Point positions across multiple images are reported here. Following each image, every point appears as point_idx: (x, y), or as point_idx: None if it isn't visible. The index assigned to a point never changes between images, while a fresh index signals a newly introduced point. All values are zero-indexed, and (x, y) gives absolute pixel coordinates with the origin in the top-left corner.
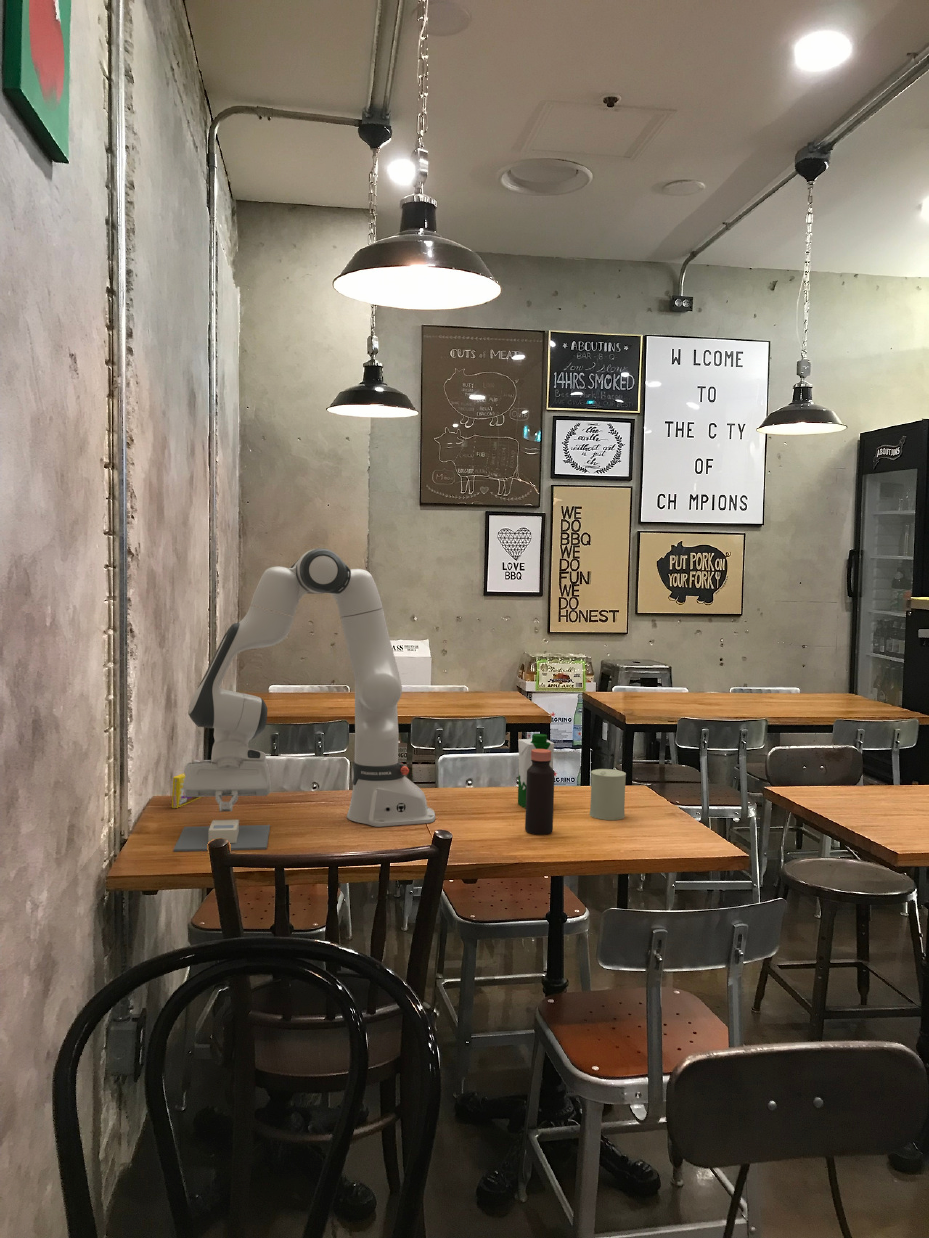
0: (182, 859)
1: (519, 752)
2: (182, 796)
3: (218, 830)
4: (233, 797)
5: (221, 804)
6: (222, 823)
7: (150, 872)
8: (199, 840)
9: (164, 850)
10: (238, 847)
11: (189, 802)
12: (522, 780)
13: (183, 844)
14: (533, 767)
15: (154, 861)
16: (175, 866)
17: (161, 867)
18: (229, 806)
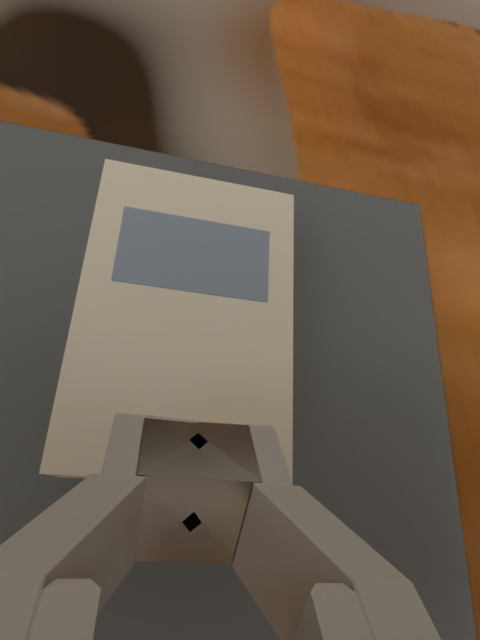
0: (353, 110)
1: None
2: None
3: (229, 185)
4: (68, 522)
5: (254, 451)
6: (203, 354)
7: (427, 30)
8: (323, 320)
9: (454, 241)
10: (101, 146)
11: None
12: None
13: (392, 267)
14: None
15: (449, 121)
16: (362, 51)
17: (406, 58)
18: (145, 418)
